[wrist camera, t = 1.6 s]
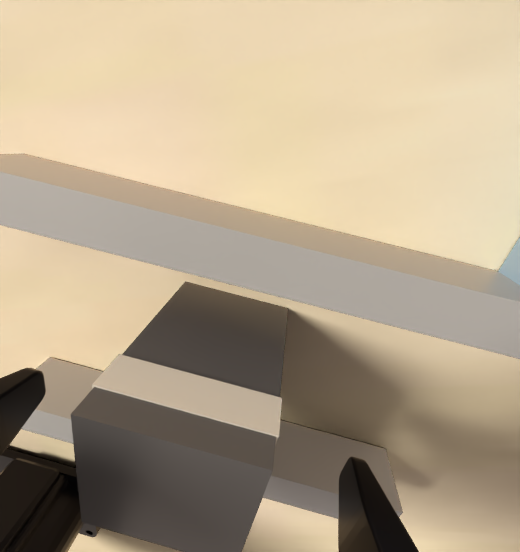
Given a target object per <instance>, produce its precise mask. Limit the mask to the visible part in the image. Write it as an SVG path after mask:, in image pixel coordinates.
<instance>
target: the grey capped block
mask: <svg viewBox="0 0 520 552" xmlns="http://www.w3.org/2000/svg"><path fill="white" fill-rule="evenodd" d="M287 316H288V308H285V307H281V306H278V305H274V304H270V303H266V302H262V301H258V300H254V299H251V298H247V297H243V296H239V295H235V294H231V293H227V292H224V291H220V290H216V289H212V288H208V287H204V286H200V285H197V284H193V283H189V282H185V283H184V284H183V285H182V286H181V287H180V288H179V290H178V291H177V292H176V293H175V294H174V295H173V297H172V298H171V299H170V300H169V301H168V302H167V303H166V305H165V306H164V307H163V308H162V309H161V310H160V312H159V313H158V314H157V315H156V316H155V317H154V318H153V320H152V321H151V322H150V323H149V324H148V325H147V327H146V328H145V329H144V330H143V331H142V332H141V333H140V335H139V336H138V337H137V338H136V339H135V340H134V342H133V343H132V344H131V345H130V346H129V347H128V348H127V350H126V351H125V352H124V353H123V354H122V355H121V354H119V355H118V356H117V357H116V358H115V359H114V360H113V361H112V362H111V364H110V365H109V366H108V367H107V368H106V369H105V370H104V372H103V373H102V374H101V375H100V376H99V377H98V378H97V379H96V381H95V382H94V383H93V384H92V390H91V391H90V392H89V394H88V395H87V396H86V397H85V398H84V399H83V400H82V402H81V403H80V404H79V405H78V406H77V407H76V409H75V410H74V411H73V412H72V413H71V423H72V433H73V443H74V453H75V463H76V472H77V482H78V492H79V502H80V512H81V521H82V522H83V523H86V524H90V525H93V526H97V527H100V528H104V529H107V530H110V531H114V532H117V533H121V534H124V535H128V536H131V537H134V538H138V539H141V540H145V541H148V542H152V543H155V544H158V545H162V546H165V547H169V548H172V549H176V550H179V551H182V552H242V549H243V547H244V544H245V542H246V539H247V536H248V534H249V531H250V529H251V526H252V523H253V521H254V518H255V516H256V513H257V510H258V508H259V505H260V503H261V500H262V498H263V495H264V492H265V490H266V487H267V485H268V482H269V479H270V477H271V474H272V472H273V464H274V454H275V445H276V443H277V440H278V437H279V430H280V418H281V406H282V398H280V390H281V379H282V369H283V358H284V348H285V337H286V326H287Z"/></svg>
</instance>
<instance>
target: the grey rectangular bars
mask: <svg viewBox="0 0 520 552" xmlns="http://www.w3.org/2000/svg"><path fill="white" fill-rule="evenodd" d="M0 225H2V226H6V227H10V228H14V229H18V230H22V231H26V232H29V233H33V234H37V235H41V236H45V237H49V238H53V239H57V240H60V241H64V242H68V243H72V244H76V245H80V246H84V247H88V248H92V249H95V250H99V251H103V252H107V253H111V254H115V255H119V256H123V257H126V258H130V259H134V260H138V261H142V262H146V263H150V264H154V265H157V266H161V267H165V268H169V269H173V270H177V271H181V272H185V273H188V274H192V275H196V276H200V277H204V278H208V279H212V280H216V281H220V282H223V283H227V284H231V285H235V286H239V287H243V288H247V289H251V290H254V291H258V292H262V293H266V294H270V295H274V296H278V297H282V298H285V299H289V300H293V301H297V302H301V303H305V304H309V305H313V306H316V307H320V308H324V309H328V310H332V311H336V312H340V313H344V314H348V315H351V316H355V317H359V318H363V319H367V320H371V321H375V322H379V323H382V324H386V325H390V326H394V327H398V328H402V329H406V330H410V331H413V332H417V333H421V334H425V335H429V336H433V337H437V338H441V339H445V340H448V341H452V342H456V343H460V344H464V345H468V346H472V347H476V348H479V349H483V350H487V351H491V352H495V353H499V354H503V355H507V356H510V357H514V358H518V359H520V237H519V239H518V240H517V242H516V244H515V245H514V247H513V248H512V250H511V252H510V253H509V255H508V256H507V258H506V259H505V261H504V263H503V264H502V266H501V267H500V269H499V271H495V270H490V269H486V268H482V267H478V266H474V265H470V264H466V263H462V262H458V261H454V260H450V259H446V258H442V257H438V256H434V255H430V254H426V253H422V252H418V251H414V250H410V249H406V248H402V247H398V246H394V245H390V244H386V243H382V242H378V241H374V240H369V239H365V238H361V237H357V236H353V235H349V234H345V233H341V232H337V231H333V230H329V229H325V228H321V227H317V226H313V225H309V224H305V223H301V222H297V221H293V220H289V219H285V218H281V217H277V216H273V215H269V214H265V213H261V212H257V211H252V210H248V209H244V208H240V207H236V206H232V205H228V204H224V203H220V202H216V201H212V200H208V199H204V198H200V197H196V196H192V195H188V194H184V193H180V192H176V191H172V190H168V189H164V188H160V187H156V186H152V185H148V184H144V183H140V182H136V181H131V180H127V179H123V178H119V177H115V176H111V175H107V174H103V173H99V172H95V171H91V170H87V169H83V168H79V167H75V166H71V165H67V164H63V163H59V162H55V161H51V160H47V159H43V158H39V157H35V156H31V155H27V154H0ZM36 370H40V371H42V372H43V374H44V380H45V387H46V393H45V396H44V398H43V400H42V401H41V403H40V404H39V405H38V407H37V408H36V409H35V411H34V412H33V413H32V415H31V416H30V417H29V419H28V420H27V422H26V423H25V424H24V426H23V427H22V428H21V429H23V430H26V431H30V432H33V433H37V434H41V435H44V436H48V437H51V438H55V439H58V440H62V441H65V442H69V443H72V444H74V443H73V433H72V423H71V413H72V412H73V411H74V410H75V409H76V407H77V406H78V405H79V404H80V403H81V402H82V400H83V399H84V398H85V397H86V396H87V395H88V394H89V392H90V391H91V390H92V384H93V383H94V382H95V381H96V379H97V378H98V377H99V376H100V375H101V374H102V373H103V371H99V370H95V369H92V368H88V367H84V366H81V365H77V364H73V363H70V362H66V361H62V360H59V359H55V358H51V357H50V358H48V359H47V360H46V361H45V362H44V363H42V364H41V365H40V366H39V367H38V368H36ZM351 456H353V457H357V458H360V459H363V460H365V461H366V462H367V464H368V465H369V467H370V469H371V470H372V472H373V474H374V475H375V477H376V479H377V481H378V482H379V484H380V486H381V487H382V489H383V491H384V493H385V494H386V496H387V498H388V500H389V501H390V503H391V505H392V506H393V508H394V510H395V512H396V513H397V515H398V517H400V515H401V514H402V513H403V511H402V507H401V504H400V500H399V496H398V492H397V489H396V485H395V481H394V478H393V474H392V470H391V466H390V463H389V459H388V455H387V452H386V449H385V448H381V447H377V446H374V445H370V444H366V443H363V442H359V441H355V440H352V439H348V438H344V437H341V436H337V435H333V434H330V433H326V432H322V431H319V430H315V429H311V428H308V427H304V426H300V425H297V424H293V423H289V422H286V421H282V420H280V430H279V437H278V440H277V443H276V445H275V454H274V464H273V472H272V474H271V477H270V479H269V482H268V485H267V487H266V490H265V492H264V495H263V498H266V499H270V500H274V501H277V502H281V503H284V504H288V505H291V506H295V507H298V508H302V509H305V510H309V511H312V512H316V513H319V514H323V515H326V516H330V517H334V518H337V519H338V517H339V476H340V473H341V471H342V469H343V467H344V465H345V464H346V462H347V460H348V458H349V457H351Z"/></svg>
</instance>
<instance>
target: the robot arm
mask: <svg viewBox="0 0 520 552" xmlns="http://www.w3.org/2000/svg"><path fill="white" fill-rule="evenodd" d="M45 393H46V387H45V380H44V374H43V372H42V371H40V370H36V369H33V368H25V369H22V370H19V371H17V372H15V373H12V374H10V375H7V376H5V377H2V378H0V552H68V550H69V548H70V547H71V545H72V543H73V542H74V540H75V538H76V536H77V535H78V533H80V534H83V535H87V536H90V537H95V536H96V535H97V534H98V532H99V530H100V527H97V526H93V525H90V524H86V523H83V522H82V521H81V512H80V502H79V492H78V482H77V472H76V468H73V467H69V466H66V465H62V464H59V463H55V462H52V461H48V460H45V459H41V458H38V457H34V456H31V455H27V454H24V453H21V452H17V451H14V450H10V449H7V447H8V446H9V444H10V443H11V442H12V440H13V439H14V438H15V436H16V435H17V434H18V432H19V431H20V430H21V428H22V427H23V426H24V424H25V423H26V422H27V420H28V419H29V417H30V416H31V415H32V413H33V412H34V411H35V409H36V408H37V407H38V405H39V404H40V403H41V401H42V400H43V398H44V396H45ZM338 546H339V552H419V551H418V549H417V548H416V546H415V544H414V542H413V541H412V539H411V537H410V536H409V534H408V532H407V530H406V529H405V527H404V525H403V524H402V522H401V520H400V518H399V517H398V515H397V513H396V512H395V510H394V508H393V506H392V505H391V503H390V501H389V500H388V498H387V496H386V494H385V493H384V491H383V489H382V487H381V486H380V484H379V482H378V481H377V479H376V477H375V475H374V474H373V472H372V470H371V469H370V467H369V465H368V464H367V462H366V461H365V460H363V459H360V458H357V457H353V456H351V457H349V458H348V460H347V462H346V464H345V465H344V467H343V469H342V471H341V473H340V476H339V517H338Z"/></svg>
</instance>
